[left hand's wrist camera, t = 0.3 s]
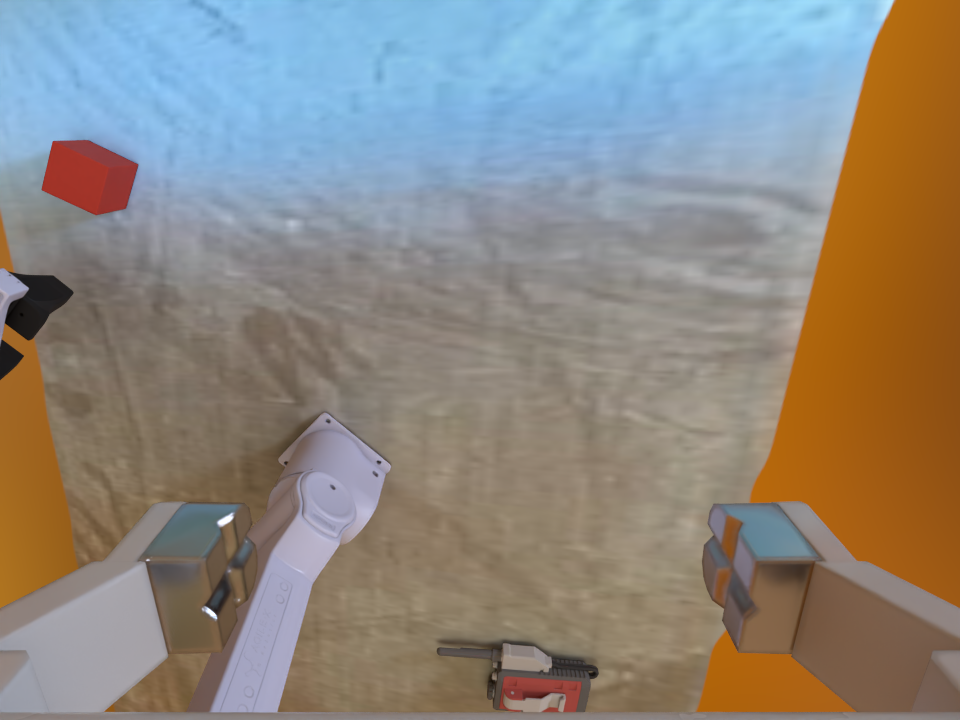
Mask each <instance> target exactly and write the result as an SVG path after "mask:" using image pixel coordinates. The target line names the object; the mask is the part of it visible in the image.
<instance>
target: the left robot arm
mask: <svg viewBox="0 0 960 720" xmlns="http://www.w3.org/2000/svg"><path fill="white" fill-rule="evenodd" d="M251 525H252V519H251V514H250V510H249V507H248V506H247V505H246V504H245V503H218V502H188V503H187V502H159V503H156V504H153V505H152V506H151V507H150V508H149V510H148V511H147V512H146V513H145V514H144V515H143V516H142V517H141V519H140V520H139V521H138V522H137V523H136V524H135V525H134V527H133V528H132V529H131V530H130V531H129V532H128V533H127V534H126V536H125V537H124V538H123V539H122V540H121V541H120V542H119V544H118V545H117V546H116V547H115V548H114V549H113V550H112V551H111V553H110V554H109V555H108V556H107V557H106V558H105V559H104V561H103V562H91V563H89V564H87V565H85V566H83V567H81V568H79V569H77V570H76V571H74V572H72V573H70V574H68V575H66V576H64V577H62V578H60V579H58V580H56V581H54V582H52V583H50V584H48V585H46V586H44V587H42V588H40V589H38V590H36V591H34V592H32V593H30V594H28V595H26V596H24V597H22V598H20V599H18V600H16V601H14V602H12V603H10V604H8V605H6V606H4V607H2V608H0V720H960V608H958V607H956V606H954V605H952V604H950V603H948V602H946V601H944V600H942V599H940V598H938V597H936V596H934V595H932V594H930V593H928V592H926V591H924V590H922V589H920V588H918V587H916V586H914V585H912V584H910V583H908V582H906V581H904V580H902V579H900V578H898V577H896V576H894V575H892V574H890V573H888V572H886V571H884V570H882V569H880V568H878V567H877V566H875V565H872V564H871V563H869V562H857V561H856V559H855V558H854V557H853V556H852V555H851V554H850V553H849V551H848V550H847V549H846V548H845V547H844V546H843V545H842V544H841V542H840V541H839V540H838V539H837V538H836V537H835V536H834V534H833V533H832V532H831V531H830V530H829V529H828V528H827V527H826V525H825V524H824V523H823V522H822V521H821V520H820V519H819V517H818V516H817V515H816V514H815V513H814V512H813V511H812V510H811V508H810V507H809V506H808V505H807V504H805V503H803V502H800V501H796V502H772V503H734V504H713V506H712V508H711V510H710V513H709V519H708V525H709V527H710V529H711V531H712V532H713V534H714V535H713V536H712V537H711V539H710V540H709V541H708V542H707V543H706V544H705V545H704V550H703V558H702V566H703V577H704V581H705V584H706V588H707V590H708V592H709V595H710V597H711V599H712V601H714V602H715V603H717V604H718V605H719V606H721V607H722V608H724V613H723V619H722V621H723V623H724V625H725V627H726V629H727V631H728V633H729V635H730V637H731V639H732V641H733V643H734V645H735V647H736V649H737V651H738V652H739V653H770V654H792V657H793V658H794V659H795V660H796V661H797V662H798V663H800V664H801V665H802V666H803V667H804V668H806V669H807V670H808V671H809V672H810V673H812V674H813V675H814V676H815V677H816V678H817V679H819V680H820V681H821V682H822V683H823V684H825V685H826V686H827V687H828V688H829V689H830V690H832V691H833V692H834V693H835V694H836V695H838V696H839V697H840V698H841V699H842V700H843V701H845V702H846V703H847V704H848V705H849V706H851V707H852V708H853V709H854V710H855V711H857V712H104V711H105V710H106V709H107V708H108V707H110V706H111V705H112V704H113V703H114V702H116V701H117V700H118V699H119V698H120V697H121V696H123V695H124V694H125V693H126V692H127V691H129V690H130V689H131V688H132V687H133V686H135V685H136V684H137V683H138V682H139V681H140V680H142V679H143V678H144V677H145V676H146V675H148V674H149V673H150V672H151V671H152V670H154V669H155V668H156V667H157V666H158V665H159V664H161V663H162V662H163V661H164V660H165V659H167V658H168V654H189V653H222V651H223V649H224V647H225V645H226V643H227V641H228V639H229V637H230V635H231V633H232V631H233V629H234V627H235V625H236V623H237V621H238V619H237V613H236V608H238V607H239V606H241V605H242V604H243V603H245V602H246V601H248V599H249V597H250V594H251V592H252V590H253V588H254V584H255V580H256V575H257V570H258V556H257V549H256V545H255V544H254V543H253V542H252V541H251V540H250V539H249V537H248V536H247V535H246V534H247V532H248V531H249V529H250V527H251Z"/></svg>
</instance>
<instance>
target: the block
mask: <svg viewBox="0 0 960 720" xmlns="http://www.w3.org/2000/svg"><path fill="white" fill-rule="evenodd" d="M137 167H138V164H136V163H134V162H132V161H130V160H128V159H126V158H124V157H122V156H120V155H117V154H115V153H113V152H111V151H109V150H107V149H105V148H103V147H101V146H99V145H97V144H94V143H92V142H90V141H88V140H75V141H53V143H52V147H51V151H50V156H49V160H48V164H47V168H46V173H45V177H44V181H43V186H42V191H45V192H47V193H49V194H51V195H53V196H55V197H58V198H60V199H62V200H64V201H66V202H68V203H71V204H73V205H75V206H77V207H79V208H81V209H84V210H86V211H88V212H90V213H92V214H95V215H99V214H103V213H108V212H112V211H117V210H122V209H126V206H127V203H128V199H129V196H130V192H131V189H132V185H133V182H134V178H135V175H136V171H137Z"/></svg>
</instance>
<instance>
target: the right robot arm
mask: <svg viewBox="0 0 960 720" xmlns="http://www.w3.org/2000/svg"><path fill="white" fill-rule="evenodd" d="M72 295H73V291H72V290H71V289H70V288H68V287H67V286H66V285H64V284H63V283H62V282H61V281H59V280H58V279H57V278H56V277H54V276H48V275H23V274H17V273H12V272H8V271H6V270H5V269H3V268H1V269H0V380H1V379H2V378H3V377H4V376H5V375H7V374H8V373H9V372H10V371H11V370H12V369H13V368H14V367H15V366H16V365H17V364H18V363H19V362H20V361H21V359H22V358H23V357H24V356H23V355H22V354H21V353H19V352H18V351H17V350H15V349H14V348H13V347H11V346H10V345H9V344H7V343H6V342H5V341H3V340H1V339H2V334H3V329H4V324H7V325H8V326H9V327H11V328H12V329H13V330H15V331H16V332H17V333H19V334H20V335H21V336H23V337H24V338H25V339H27V340H31V339H33V338H34V336H35V335H36V334H37V332H38V331H39V330H40V329H41V327H42V326H43V325H44V323H45V322H46V320H47V318H48V316H49V314H50V313H52V312H53V311H55V310H56V309H58V308H59V307H61V306H62V305H64V304H65V303H66V302H67V301H68V300H69V298H70V297H71V296H72ZM326 419H329V420H330V422H328V421H327V420H326ZM378 460H380V461H381V463H379V462H377V461H378ZM278 461H279V463H280V464H282V465H283V466H284V467H285V469H284V470H283V472H282V474H281V475H280V477H279V479H278V481H277V482H276V484H275V486H274V488H273V489H272V491H271V493H270V495H269V498H268V503H267V510H266V513H265V514H264V515H263V517H262V518H261V519H260V520H259V521H258V522H257V523H256V524H255V525H254V526H253V527H252V528H250V529H249V531H248V532H247V534H246V535H247V536H248V537H249V539H250V540H251V541H252V542H253V543H254V544H255V545H256V549H257V556H258V570H257V575H256V580H255V584H254V588H253V590H252V592H251V594H250V597H249V599H248V601H246V602H245V603H243V604H242V605H241V606H239V607H238V608H236V613H237V619H238V621H237V623H236V625H235V627H234V629H233V631H232V633H231V635H230V637H229V639H228V641H227V643H226V645H225V647H224V649H223V651H222V653H211V655H210V657H209V660H208V662H207V665H206V667H205V669H204V672H203V674H202V676H201V679H200V681H199V683H198V686H197V688H196V690H195V693H194V695H193V697H192V700H191V702H190V705H189V707H188V709H187V712H277V711H278V707H279V704H280V700H281V696H282V693H283V689H284V686H285V682H286V678H287V675H288V671H289V668H290V664H291V660H292V657H293V653H294V649H295V646H296V642H297V639H298V635H299V631H300V628H301V624H302V621H303V617H304V613H305V610H306V606H307V602H308V599H309V595H310V592H311V588H312V585H313V583H314V581H315V580H316V578H317V577H318V575H319V574H320V572H321V571H322V569H323V568H324V567H325V565H326V564H327V562H328V561H329V559H330V558H331V557H332V555H333V554H334V552H335V551H336V549H337V548H338V546H339V544H340V545H344V544H346V543H348V542H349V541H351V540H352V539H353V538H354V537H355V536H356V535H357V534H358V533H359V532H360V531H361V530H362V529H363V527H364V526H365V525H366V524H367V522H368V521H369V519H370V518H371V516H372V514H373V513H374V511H375V509H376V506H377V504H378V500H379V497H380V493H381V489H382V486H383V482H384V478H385V475H386V473H388V472H389V471H390V469H391V465H390V464H389V463H388V462H387V461H386V460H384V459H383V458H382V457H381V456H379V455H378V454H377V453H376V452H375V451H373V450H372V449H371V448H370V447H368V446H367V445H366V444H365V443H363V442H362V441H361V440H360V439H358V438H357V437H356V436H355V435H354V434H352V433H351V432H350V431H349V430H347V429H346V428H345V427H344V426H342V425H341V424H340V423H339V422H338V421H336V420H335V419H334V418H333V417H331V416H330V415H329V414H327V413H322V414H321V415H320V416H319V417H318V418H317V419H316V420H315V421H314V422H313V423H312V424H311V425H310V426H309V427H308V428H307V429H306V430H305V431H304V432H303V433H302V434H301V435H300V436H299V437H298V438H297V439H296V440H295V441H294V442H293V443H292V444H291V445H290V446H289V447H288V448H287V449H286V450H285V451H284V452H283V453H282V454H281V455H280V457H279V458H278ZM285 461H287V462H288V463H286V462H285Z"/></svg>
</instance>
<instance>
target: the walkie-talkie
mask: <svg viewBox="0 0 960 720" xmlns="http://www.w3.org/2000/svg"><path fill="white" fill-rule="evenodd" d="M437 654H438V655H440V656H454V657H468V658H481V659H491V660H492V661H493V664H492V665H493V666H492V667H494V668H496V672H492V680H494V683H493V681H489V682H488V689H487V698H488V700H491V699H492V697H493V708H494V709H496V710H505V711H516V712H585V709H586V705H587V700H588V696H589V691H590V686H591V682H590V679H594V678H596V677H597V676H598V674H599V673H598V668H597V667H596V666H593V665H586V664H585V663H584V662H583V661H572V660H558V659H551V657H548V656H547V655H546V654H544V653H543V652H542V651H540V650H539V649H537V648H536V647H534V646H521V645H510V644H508V643H503V646H502V649H492V650H486V649H472V648H460V649H455V648H437ZM588 671H593V672H592V673H589V672H588Z"/></svg>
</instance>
